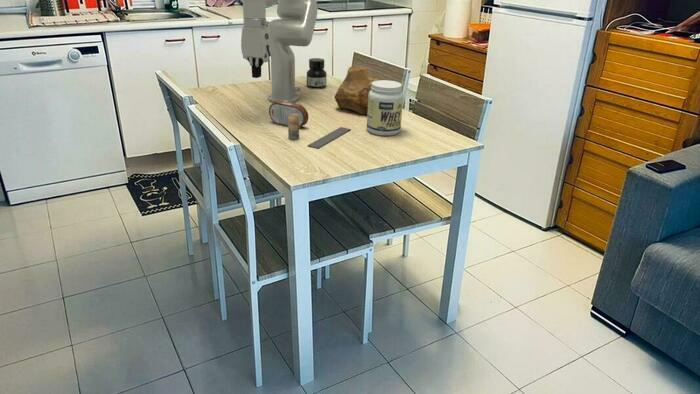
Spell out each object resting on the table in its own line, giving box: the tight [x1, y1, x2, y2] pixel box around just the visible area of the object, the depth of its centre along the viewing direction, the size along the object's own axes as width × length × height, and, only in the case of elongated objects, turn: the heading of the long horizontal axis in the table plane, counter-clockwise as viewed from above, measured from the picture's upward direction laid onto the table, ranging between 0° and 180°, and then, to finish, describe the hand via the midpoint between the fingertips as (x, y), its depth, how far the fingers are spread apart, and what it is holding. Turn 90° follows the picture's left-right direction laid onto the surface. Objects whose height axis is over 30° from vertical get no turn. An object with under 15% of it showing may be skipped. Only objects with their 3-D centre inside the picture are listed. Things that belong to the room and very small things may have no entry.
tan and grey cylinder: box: [287, 114, 300, 141], centre depth 177 cm, size 4×4×8 cm
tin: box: [268, 100, 309, 129], centre depth 188 cm, size 15×3×8 cm, turn 65°
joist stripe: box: [307, 126, 352, 150], centre depth 180 cm, size 22×4×1 cm, turn 152°
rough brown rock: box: [334, 66, 381, 116], centre depth 208 cm, size 23×17×15 cm
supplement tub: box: [366, 79, 404, 137], centre depth 185 cm, size 12×12×17 cm
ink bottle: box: [306, 57, 328, 90], centre depth 237 cm, size 10×9×12 cm
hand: (256, 77), depth 188 cm, fingers closed
